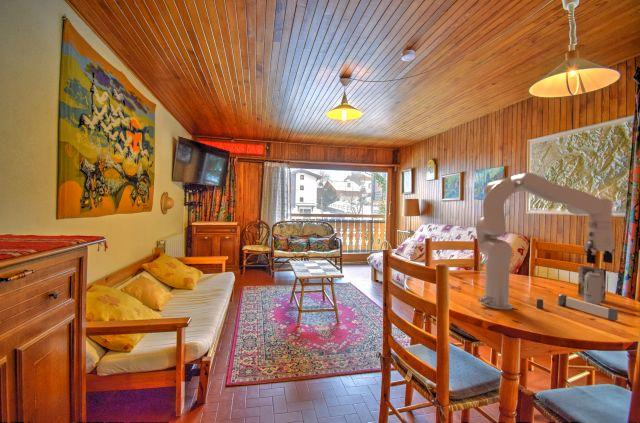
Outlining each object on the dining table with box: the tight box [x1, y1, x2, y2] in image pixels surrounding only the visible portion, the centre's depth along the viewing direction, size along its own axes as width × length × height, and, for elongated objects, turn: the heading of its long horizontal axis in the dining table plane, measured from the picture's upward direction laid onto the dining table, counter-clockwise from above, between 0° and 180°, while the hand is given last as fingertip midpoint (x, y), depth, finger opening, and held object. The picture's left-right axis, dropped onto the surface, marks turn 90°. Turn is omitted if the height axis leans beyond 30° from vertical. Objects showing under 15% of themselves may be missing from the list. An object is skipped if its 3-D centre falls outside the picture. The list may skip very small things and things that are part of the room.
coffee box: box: [577, 266, 607, 302], centre depth 148 cm, size 9×6×16 cm
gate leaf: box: [566, 297, 619, 321], centre depth 126 cm, size 2×18×4 cm, turn 17°
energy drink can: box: [583, 272, 602, 306], centre depth 140 cm, size 6×6×15 cm
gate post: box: [557, 293, 567, 307], centre depth 136 cm, size 3×3×5 cm
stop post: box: [536, 298, 544, 310], centre depth 132 cm, size 2×2×4 cm
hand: (599, 262), depth 129 cm, fingers open, 9 cm apart
